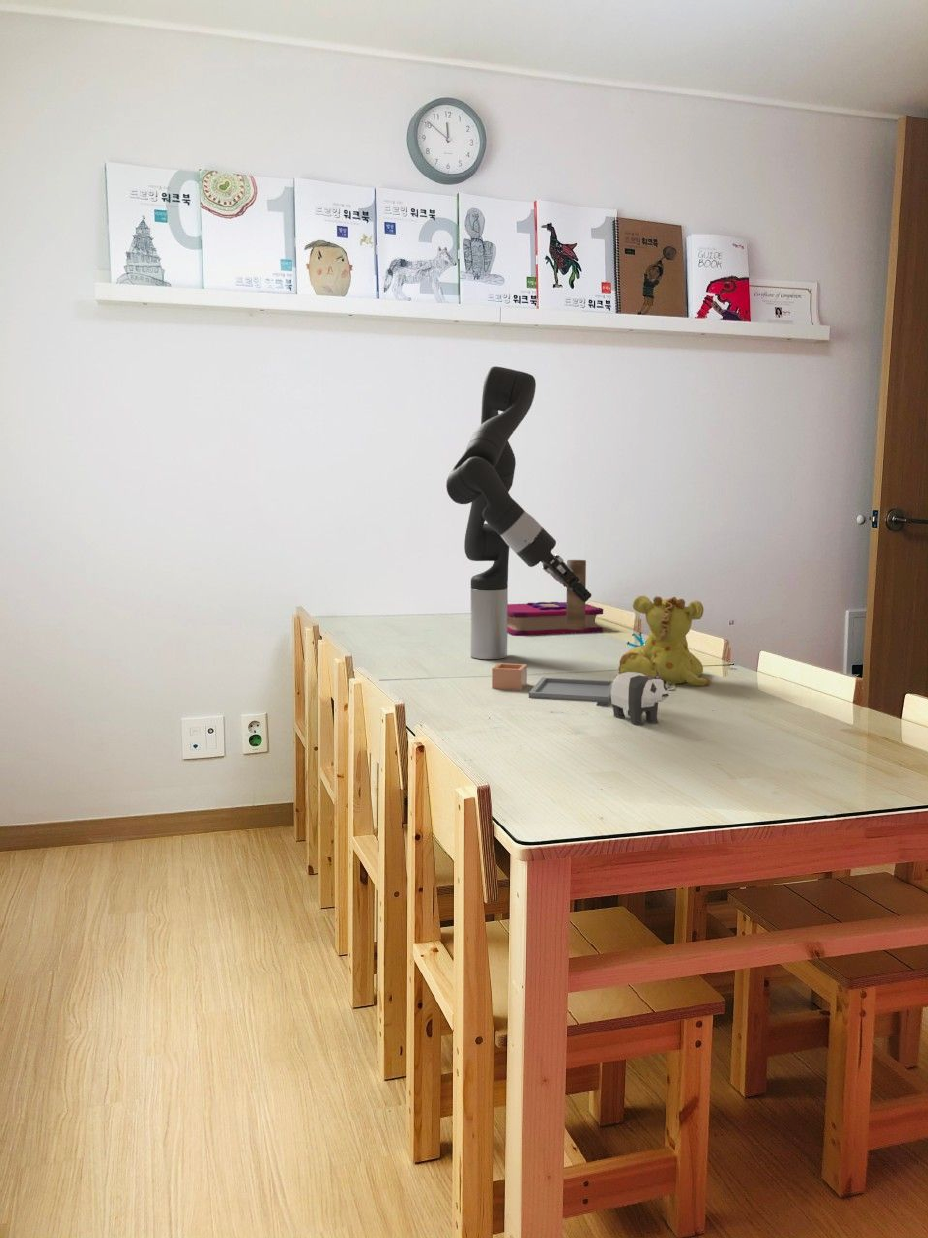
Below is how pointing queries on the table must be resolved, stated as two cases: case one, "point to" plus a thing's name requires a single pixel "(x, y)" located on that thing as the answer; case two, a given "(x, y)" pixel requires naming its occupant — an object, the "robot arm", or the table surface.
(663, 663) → the giraffe plush
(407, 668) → the table surface
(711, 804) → the table surface
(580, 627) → the dowel
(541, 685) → the tray
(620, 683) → the giant panda
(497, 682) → the pencil cup
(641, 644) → the stick construction toy
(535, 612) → the book
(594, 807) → the table surface
